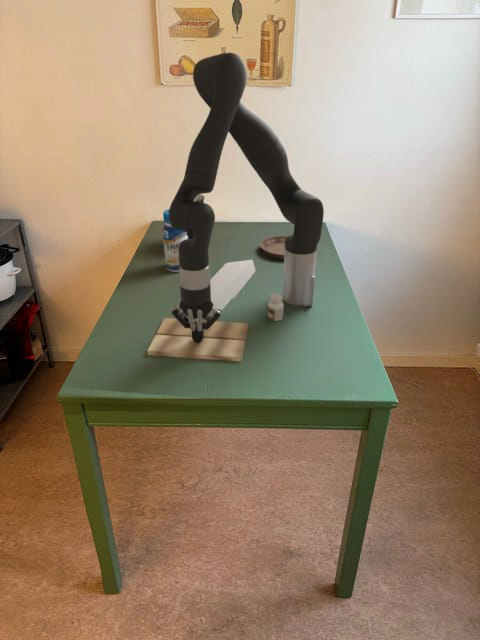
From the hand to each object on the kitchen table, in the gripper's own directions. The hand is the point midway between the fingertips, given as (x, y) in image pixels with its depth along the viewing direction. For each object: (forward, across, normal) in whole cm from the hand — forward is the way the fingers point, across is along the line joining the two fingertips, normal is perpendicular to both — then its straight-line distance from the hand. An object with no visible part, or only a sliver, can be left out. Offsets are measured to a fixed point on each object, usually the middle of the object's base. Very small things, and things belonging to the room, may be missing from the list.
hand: (198, 340), depth 133 cm
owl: (+2, +17, -66) cm, 69 cm away
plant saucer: (+2, -19, -66) cm, 68 cm away
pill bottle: (+2, -19, -16) cm, 25 cm away
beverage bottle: (+2, +17, -47) cm, 50 cm away
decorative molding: (+3, -1, -32) cm, 32 cm away
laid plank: (+2, 0, -7) cm, 7 cm away
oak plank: (+2, 0, +2) cm, 3 cm away
